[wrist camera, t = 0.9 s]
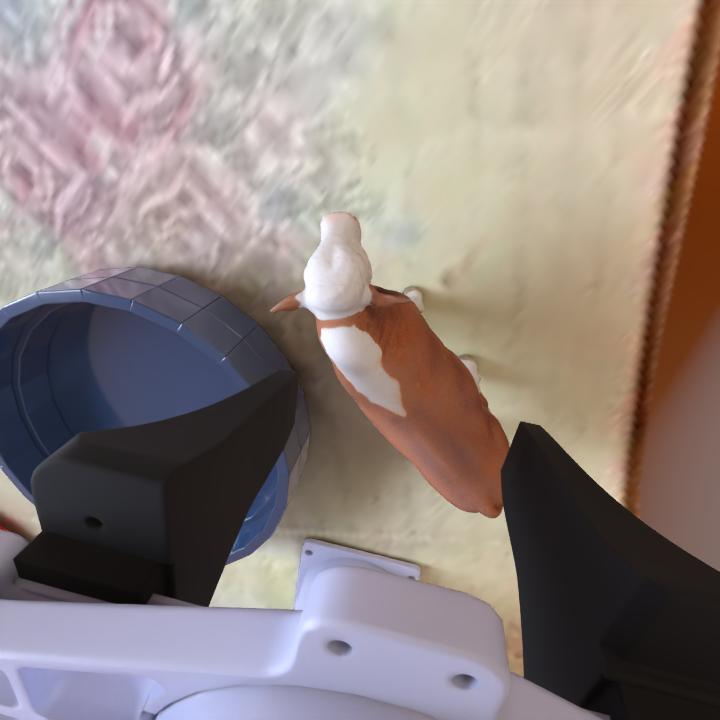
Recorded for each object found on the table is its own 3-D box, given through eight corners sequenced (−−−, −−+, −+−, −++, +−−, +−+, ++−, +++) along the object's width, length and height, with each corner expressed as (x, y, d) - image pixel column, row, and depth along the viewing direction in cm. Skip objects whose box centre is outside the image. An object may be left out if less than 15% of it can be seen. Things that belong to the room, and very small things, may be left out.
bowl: (298, 538, 29) (276, 599, 25) (66, 479, 30) (10, 529, 26) (329, 301, 21) (303, 336, 17) (13, 236, 23) (-79, 254, 19)
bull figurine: (380, 180, 18) (343, 200, 11) (514, 416, 22) (550, 543, 15) (301, 234, 20) (223, 282, 13) (439, 445, 24) (439, 573, 17)
